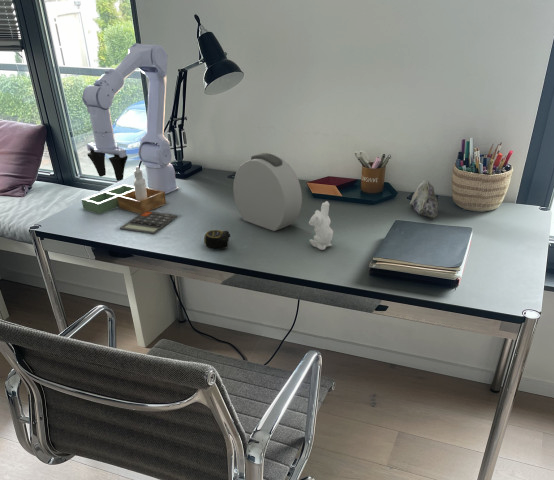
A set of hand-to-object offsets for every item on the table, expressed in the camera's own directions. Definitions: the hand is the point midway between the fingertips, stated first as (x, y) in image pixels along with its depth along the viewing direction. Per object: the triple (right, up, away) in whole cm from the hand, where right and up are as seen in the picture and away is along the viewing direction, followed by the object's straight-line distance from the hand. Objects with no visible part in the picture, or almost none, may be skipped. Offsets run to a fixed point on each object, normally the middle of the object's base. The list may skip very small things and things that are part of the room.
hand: (111, 177), depth 173 cm
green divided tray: (-3, -4, +12) cm, 13 cm away
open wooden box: (+7, -6, +10) cm, 14 cm away
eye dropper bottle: (+7, -6, +9) cm, 13 cm away
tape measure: (+35, -25, -16) cm, 46 cm away
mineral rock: (+96, -10, +3) cm, 97 cm away
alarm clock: (+48, -14, -2) cm, 50 cm away
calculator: (+12, -15, -2) cm, 19 cm away
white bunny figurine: (+63, -25, -17) cm, 70 cm away
